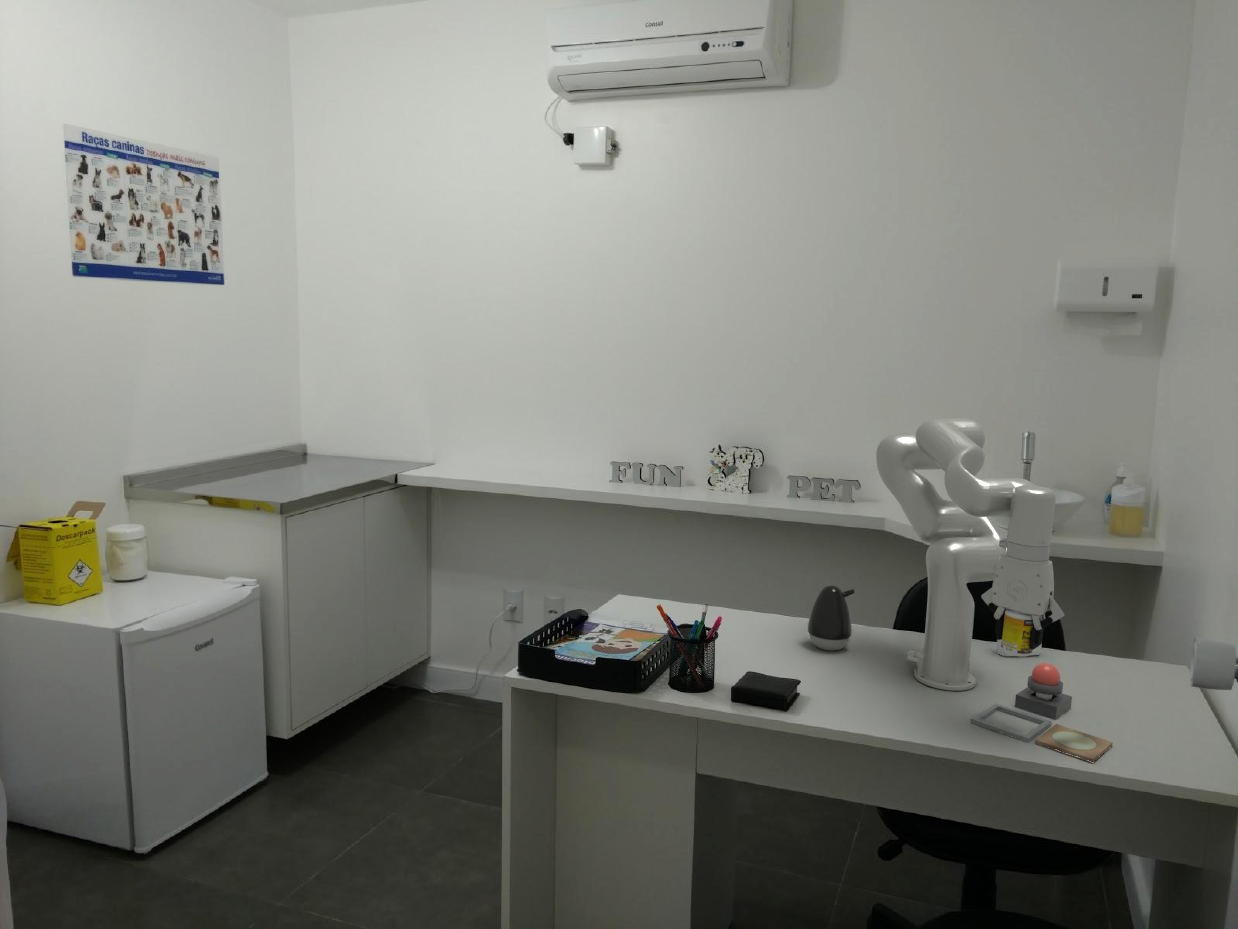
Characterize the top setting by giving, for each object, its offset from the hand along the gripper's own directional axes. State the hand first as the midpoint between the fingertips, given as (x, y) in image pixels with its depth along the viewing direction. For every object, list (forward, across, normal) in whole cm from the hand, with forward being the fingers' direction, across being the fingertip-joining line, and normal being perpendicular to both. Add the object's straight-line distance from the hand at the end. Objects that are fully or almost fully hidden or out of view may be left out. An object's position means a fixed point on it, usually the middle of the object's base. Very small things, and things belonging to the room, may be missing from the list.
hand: (1017, 642), depth 169 cm
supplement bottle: (+2, 0, 0) cm, 2 cm away
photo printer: (+17, -14, +40) cm, 46 cm away
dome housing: (+17, +2, +13) cm, 21 cm away
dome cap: (+15, +2, +13) cm, 20 cm away
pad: (+16, +12, 0) cm, 20 cm away
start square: (+16, +1, 0) cm, 17 cm away
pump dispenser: (+17, -46, +9) cm, 50 cm away
